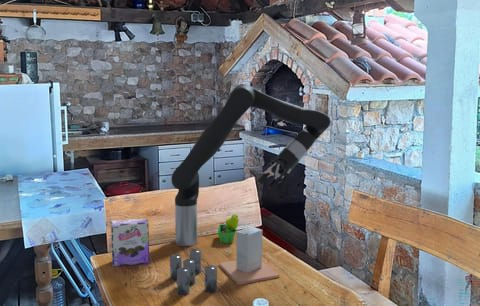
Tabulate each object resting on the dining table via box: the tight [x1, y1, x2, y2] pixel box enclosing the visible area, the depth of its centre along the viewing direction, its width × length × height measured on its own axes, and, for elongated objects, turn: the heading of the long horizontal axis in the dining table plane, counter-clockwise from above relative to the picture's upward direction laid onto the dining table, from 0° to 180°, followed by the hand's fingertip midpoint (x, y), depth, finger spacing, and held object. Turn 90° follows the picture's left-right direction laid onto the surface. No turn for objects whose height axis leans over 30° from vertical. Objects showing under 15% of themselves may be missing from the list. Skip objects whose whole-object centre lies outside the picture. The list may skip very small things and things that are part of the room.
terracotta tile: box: [218, 259, 280, 286], centre depth 176 cm, size 18×16×1 cm
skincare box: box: [235, 225, 263, 273], centre depth 174 cm, size 8×6×15 cm
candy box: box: [110, 218, 150, 268], centre depth 182 cm, size 14×6×16 cm, turn 105°
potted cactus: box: [217, 214, 240, 244], centre depth 207 cm, size 11×9×11 cm
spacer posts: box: [169, 248, 218, 296], centre depth 165 cm, size 20×13×8 cm, turn 24°
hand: (264, 185), depth 180 cm, fingers open, 8 cm apart
